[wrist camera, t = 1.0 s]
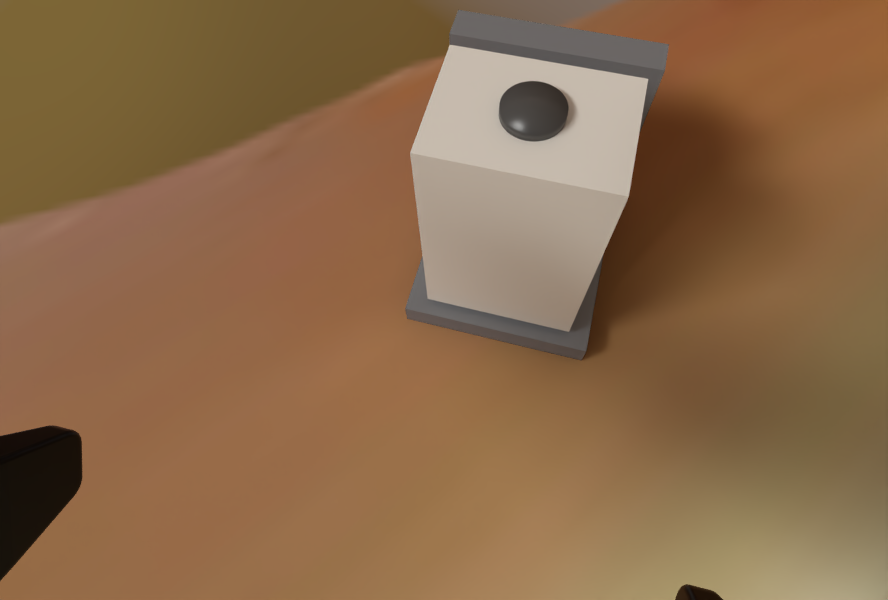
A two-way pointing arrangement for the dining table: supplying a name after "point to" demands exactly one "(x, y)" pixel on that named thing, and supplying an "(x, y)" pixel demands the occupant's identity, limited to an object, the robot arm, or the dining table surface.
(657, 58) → the housing
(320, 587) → the dining table surface
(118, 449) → the dining table surface
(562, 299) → the plunger
